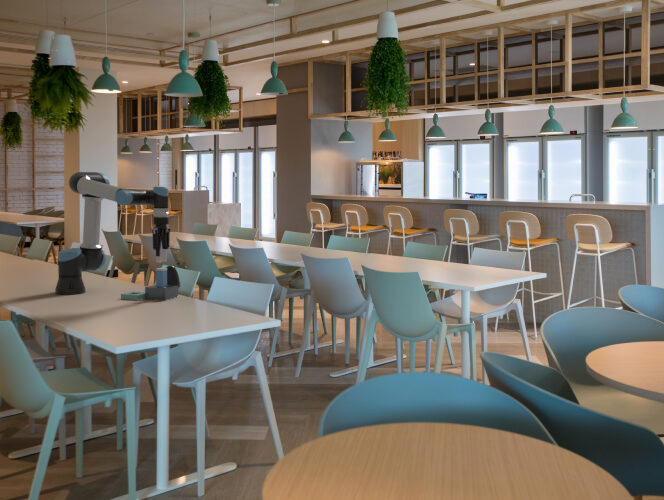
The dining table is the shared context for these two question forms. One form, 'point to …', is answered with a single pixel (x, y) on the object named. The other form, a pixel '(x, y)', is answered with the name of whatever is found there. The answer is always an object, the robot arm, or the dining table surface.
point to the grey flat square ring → (133, 295)
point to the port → (161, 292)
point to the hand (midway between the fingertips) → (161, 262)
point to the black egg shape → (172, 276)
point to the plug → (161, 277)
